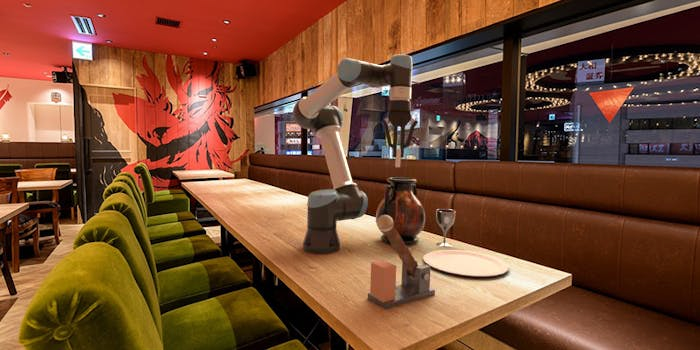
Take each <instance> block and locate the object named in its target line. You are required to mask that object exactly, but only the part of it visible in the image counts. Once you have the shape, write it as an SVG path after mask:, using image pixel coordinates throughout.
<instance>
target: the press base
mask: <svg viewBox="0 0 700 350" xmlns="http://www.w3.org/2000/svg"><path fill="white" fill-rule="evenodd" d="M415 261H416V263H417V264H418V261H417V260H415ZM401 263H402V264H401V283H400V284H398V285H396V289H395V299H394V300H390V301H387V302H382V301H380V300H378V299H377V298H375V297H373V296H372V295H370V292H369V293H367V300H369V301H371V302H372V303H374V304H375V305H377V306H379V307H381V308H382V309H384V310H389V309H392V308H394V307H395V308H396V307H399V306H402V305H406V304H408V303H413V302H415V301H419V300H422V299H426V298H429V297H432V296H435V294H436V289H435V288H432V287H430V284H431V283H430V282H431V268H432V267H431V266H429V265H428V264H423V265H422V264H421V265H418V266H416V267H415V278H414V277H412V276H411V275H410V273H409V271H408V270H407V268H406V267H405V265H404V264H403V262H402V261H401Z"/></svg>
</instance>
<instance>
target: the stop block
mask: <svg viewBox="0 0 700 350" xmlns="http://www.w3.org/2000/svg"><path fill="white" fill-rule="evenodd" d="M370 263H371V264H370V287H369V288H370V290H369V291H370V292H369V293H370V295H372V296H373V297H375V298H377V299H378V300H380V301H382V302H387V301H390V300H394V299H395V289H396V286H397V285H396V283H397V265H395V264H394V263H391V262H389V261H387V260H384V259H381V260H375V261H371V262H370Z"/></svg>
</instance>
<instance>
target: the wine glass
mask: <svg viewBox="0 0 700 350" xmlns="http://www.w3.org/2000/svg"><path fill="white" fill-rule="evenodd" d="M435 216H436V222H437V225H439V227H440V228H441V230H442V231H443V241H441V242H440V241H439V242H436V243H435V246H438V247H442V248H451V247H453V246H454V245H453V244H452V243H449V242H446V236H447V232H448V230H449V229H450V228H451V227H452V226H453V225H454V223H455V219H456V210H455V209H450V208H437V209H436V211H435Z"/></svg>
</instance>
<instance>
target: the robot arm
mask: <svg viewBox="0 0 700 350" xmlns="http://www.w3.org/2000/svg"><path fill="white" fill-rule="evenodd" d="M389 62H390V63H387V64H383V65H380V64H376V63H371V62H367V61H362V60H359V59H356V58H349V57H347V58H346V57H345V58H343V59H341V60H340V61H339V64H338V65H337V70H336V73H334V74H333V75H332V76H331V77H329V78H328V79H327V80H326V81H324V82H323V83H322V85H320V86H318V87H317V88H316V89H315V90H314V91H312V92H311V93H310V94H309V95H308V96H302V97H301V98H300V99H299V100H298V101H297V102H296V103H295V104H294V106H293V110H292V116H293V119H294V121H295V123H296V124H297V125H298V127H300V128H302V129H305V130H314V135H315V136H316V138H318V139H320V142H321V147H322V150H323V152H324V153H323V154H324V157H325V161H326V164H327V168H328V171H329V176H330V180H331V182H332V186H333V188H332V189H329V188H326V189H319V190H318V189H317V190H315V191H311V192H310V193H309V194H308V196H307V204H306V206H307V221H306V222H307V225H306V226H307V227H306V228H307V229H306V233H305V236H304V238H303V241H302V250H303V251H304V252H305V253H310V254H317V255H327V254H333V253H337V252H339V251H340V250H341V242H340V238H339V235H338V230H337V223H338V222H339V221H340V222H341V221H346V220H347V221H348V220H355V219H358V218H362V217H363V216H364V215H365V214H366V212H367V209H368V205H369V200H368V196H367V194H366V193H365V192H364V191H362V190H360V189H359V186H358V184H357V183H355V182H353V177H352V175H351V171H350V168H349V165H348V161H347V158H346V155H345V151H344V147H343V144H342V140H341V137H340V132H341V131H342V127H343V123H344V122H343V121H344V117H343V113H342V111H341V110H340V108H339V107H338V106H336V105H333V104H332V103H333V102H334V101H335V100H337V99H338V98H340V97H341V96H342V95H343V94H345V93H346V92H347V91H349V90H350V89H351V88H353V87H354V86H355V85H358V84H363V85H367V86H368V87H369V88H376V89H378V88H382V87H388V86H389V100H390V101H389V106H388V107H389V108H388V109H389V110H388V114H387V117H386V118H384V119H382V120H381V124H382V126H383V127H384V132H385V136H386V142H387V143H386V144H387V147H389V148H392V158H393V159H394V158H395V160H394V161H395V165H394V167H395V168H401V158H402V159H403V158H404V156H405V149H406V148H408V147H409V148H410V146H411V141H412V137H413V134H414V131H415V127H416V126H417V125H418V122H419V121H418V120H416V119H415V118H413V115H411V112H412V111H411V108H412V107H411V106H412V101H410V100H412V80H413V79H412V78H413V70H414V69H413V57H412V56H410V55H408V54H403V53H402V54H400V53H399V54H394V55H392V56H391V58H390V61H389ZM389 123H390V124H391V125H392V127H393V130H392V131H393V132H392V135H393V137H392V139H391V132H390V129H389V126H388V124H389ZM408 124H410V126H409V130H408V134H407V137H405V135H406V126H407V125H408ZM399 127H400V134H399V135H400V141H399V148H398V129H399ZM405 138H406V141H405Z"/></svg>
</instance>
